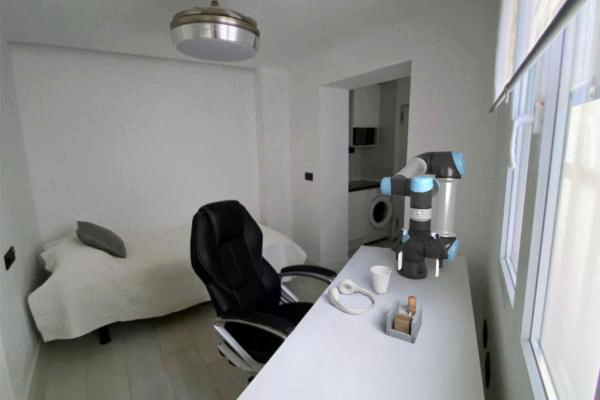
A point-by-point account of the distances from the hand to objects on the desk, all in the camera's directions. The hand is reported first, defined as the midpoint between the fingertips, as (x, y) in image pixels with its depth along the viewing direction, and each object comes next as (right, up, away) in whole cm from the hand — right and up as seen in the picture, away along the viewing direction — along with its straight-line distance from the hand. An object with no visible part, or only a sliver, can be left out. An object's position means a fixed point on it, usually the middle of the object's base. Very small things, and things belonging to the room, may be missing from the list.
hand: (418, 271), depth 115 cm
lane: (-6, -22, -1) cm, 23 cm away
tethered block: (-3, -21, +3) cm, 21 cm away
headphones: (-22, -19, +20) cm, 35 cm away
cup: (-7, -16, +28) cm, 33 cm away
